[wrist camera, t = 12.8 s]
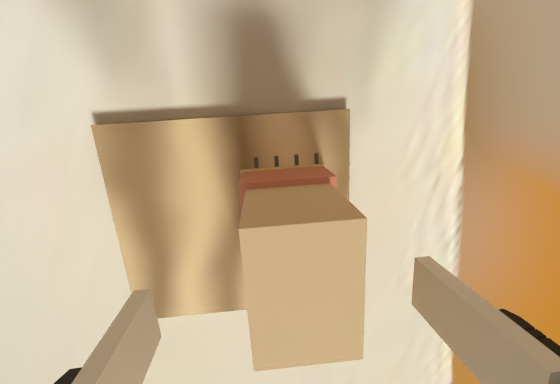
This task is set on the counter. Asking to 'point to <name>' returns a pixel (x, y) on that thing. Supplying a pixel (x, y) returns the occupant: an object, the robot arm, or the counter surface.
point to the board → (202, 196)
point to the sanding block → (301, 267)
